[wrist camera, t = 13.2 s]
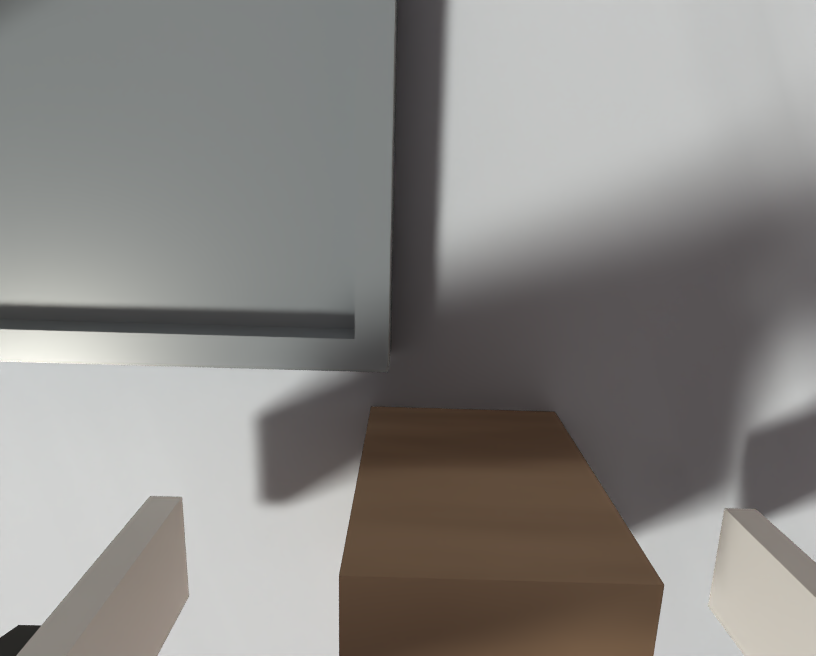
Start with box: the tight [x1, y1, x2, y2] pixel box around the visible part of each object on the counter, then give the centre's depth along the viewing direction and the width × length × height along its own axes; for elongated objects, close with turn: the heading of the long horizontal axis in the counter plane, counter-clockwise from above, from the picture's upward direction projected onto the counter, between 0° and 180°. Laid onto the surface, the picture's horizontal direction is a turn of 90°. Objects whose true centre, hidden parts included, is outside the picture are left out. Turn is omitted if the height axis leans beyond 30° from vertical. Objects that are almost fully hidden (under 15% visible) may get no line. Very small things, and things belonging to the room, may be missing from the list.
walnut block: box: [339, 406, 664, 656], centre depth 13 cm, size 5×5×7 cm
